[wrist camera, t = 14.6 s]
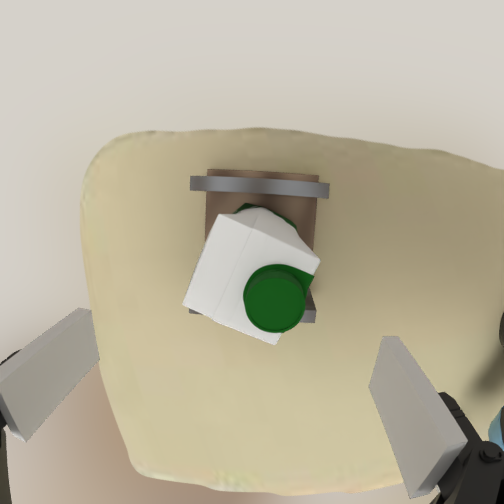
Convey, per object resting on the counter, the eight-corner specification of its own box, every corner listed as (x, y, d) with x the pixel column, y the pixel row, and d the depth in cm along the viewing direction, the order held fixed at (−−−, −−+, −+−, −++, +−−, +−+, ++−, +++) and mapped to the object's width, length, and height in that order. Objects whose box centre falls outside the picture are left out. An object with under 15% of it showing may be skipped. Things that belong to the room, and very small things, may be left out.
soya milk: (277, 282, 40) (278, 369, 21) (214, 254, 40) (161, 319, 20) (306, 222, 38) (338, 262, 19) (240, 192, 38) (205, 202, 18)
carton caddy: (317, 175, 38) (330, 173, 29) (306, 301, 42) (313, 330, 33) (209, 169, 38) (190, 166, 30) (205, 293, 42) (189, 321, 34)
